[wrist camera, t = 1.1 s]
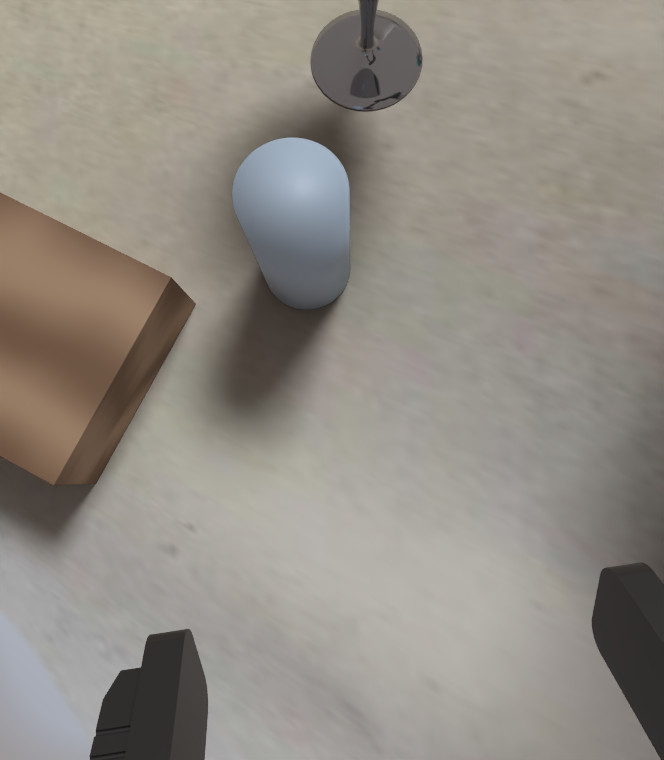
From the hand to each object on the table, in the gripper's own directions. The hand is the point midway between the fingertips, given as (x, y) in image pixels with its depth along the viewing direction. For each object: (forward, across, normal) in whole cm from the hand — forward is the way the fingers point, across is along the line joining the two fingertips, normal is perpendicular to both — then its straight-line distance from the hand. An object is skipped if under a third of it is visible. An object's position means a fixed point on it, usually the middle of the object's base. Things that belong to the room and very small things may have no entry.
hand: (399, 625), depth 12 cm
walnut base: (+26, +15, +5) cm, 31 cm away
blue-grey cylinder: (+27, 0, +2) cm, 27 cm away
